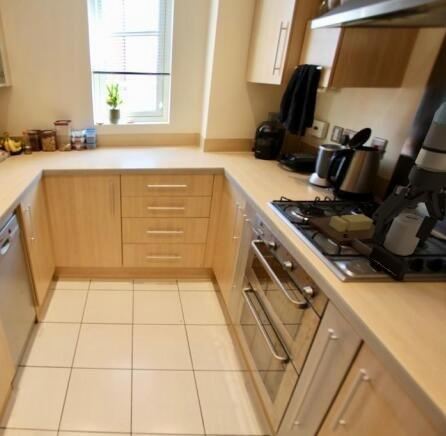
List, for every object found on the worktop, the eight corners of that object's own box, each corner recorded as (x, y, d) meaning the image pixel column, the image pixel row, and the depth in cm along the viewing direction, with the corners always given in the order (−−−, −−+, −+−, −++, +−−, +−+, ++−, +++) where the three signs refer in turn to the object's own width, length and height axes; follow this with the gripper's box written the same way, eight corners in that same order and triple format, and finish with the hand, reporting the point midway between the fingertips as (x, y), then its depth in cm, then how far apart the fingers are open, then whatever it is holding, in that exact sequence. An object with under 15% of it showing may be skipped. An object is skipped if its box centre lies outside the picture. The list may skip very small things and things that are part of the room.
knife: (402, 279, 88) (409, 265, 86) (396, 280, 88) (403, 265, 86) (353, 245, 104) (358, 232, 102) (348, 245, 104) (353, 232, 102)
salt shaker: (397, 225, 115) (411, 195, 109) (390, 218, 120) (403, 189, 114) (416, 227, 113) (431, 197, 108) (409, 220, 118) (422, 190, 113)
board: (392, 240, 106) (394, 236, 106) (337, 244, 105) (338, 241, 104) (355, 218, 120) (357, 214, 120) (306, 222, 119) (307, 218, 118)
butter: (369, 229, 110) (373, 220, 109) (348, 230, 109) (352, 222, 108) (358, 222, 115) (362, 213, 113) (338, 224, 114) (341, 215, 112)
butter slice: (344, 231, 109) (347, 222, 108) (339, 231, 109) (342, 222, 108) (334, 224, 114) (337, 215, 112) (329, 224, 114) (331, 216, 112)
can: (413, 250, 101) (430, 217, 95) (410, 260, 96) (427, 225, 91) (384, 241, 106) (398, 209, 100) (380, 250, 101) (394, 217, 96)
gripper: (462, 160, 82) (426, 230, 92) (374, 164, 80) (347, 236, 90) (495, 170, 76) (452, 244, 85) (400, 175, 73) (368, 251, 83)
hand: (398, 240), depth 88 cm, fingers open, 13 cm apart
